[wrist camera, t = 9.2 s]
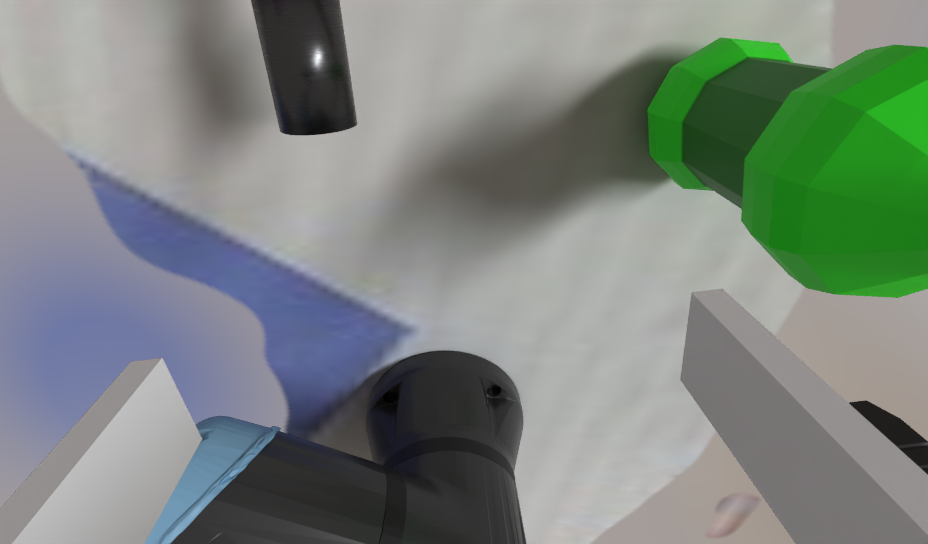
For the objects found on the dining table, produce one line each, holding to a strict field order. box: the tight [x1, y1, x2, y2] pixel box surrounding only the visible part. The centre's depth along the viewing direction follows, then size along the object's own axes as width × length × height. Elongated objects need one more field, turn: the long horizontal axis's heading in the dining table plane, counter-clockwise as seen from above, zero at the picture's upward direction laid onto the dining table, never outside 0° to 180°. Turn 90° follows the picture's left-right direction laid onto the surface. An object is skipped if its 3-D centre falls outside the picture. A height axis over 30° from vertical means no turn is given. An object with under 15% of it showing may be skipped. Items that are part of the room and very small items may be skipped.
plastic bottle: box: [647, 38, 928, 298], centre depth 24 cm, size 10×10×25 cm
